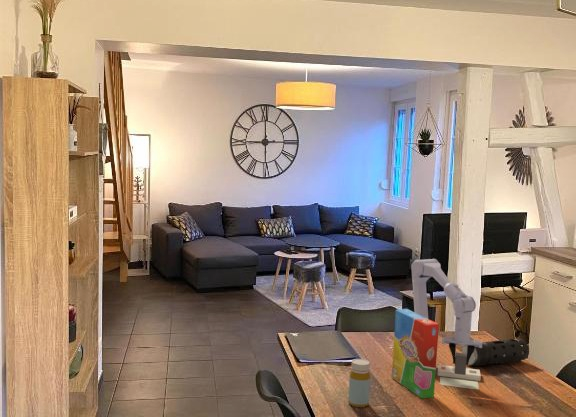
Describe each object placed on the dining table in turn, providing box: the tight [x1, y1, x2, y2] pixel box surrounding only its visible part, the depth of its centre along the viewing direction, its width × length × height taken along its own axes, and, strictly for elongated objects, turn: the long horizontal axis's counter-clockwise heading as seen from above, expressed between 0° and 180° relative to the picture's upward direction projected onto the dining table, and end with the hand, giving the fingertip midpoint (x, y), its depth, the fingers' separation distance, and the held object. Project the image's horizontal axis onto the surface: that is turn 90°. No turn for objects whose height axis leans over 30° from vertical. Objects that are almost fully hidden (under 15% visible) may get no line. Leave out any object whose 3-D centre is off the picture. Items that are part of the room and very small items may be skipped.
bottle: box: [347, 358, 371, 408], centre depth 208 cm, size 7×7×15 cm
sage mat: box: [439, 376, 480, 391], centre depth 230 cm, size 14×8×1 cm, turn 75°
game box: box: [391, 308, 440, 399], centre depth 225 cm, size 21×6×27 cm, turn 22°
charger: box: [454, 351, 467, 375], centre depth 230 cm, size 4×4×7 cm
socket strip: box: [437, 364, 482, 382], centre depth 239 cm, size 16×7×3 cm, turn 75°
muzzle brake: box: [461, 337, 530, 367], centre depth 254 cm, size 10×28×10 cm, turn 112°
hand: (460, 363), depth 229 cm, fingers closed on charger, 4 cm apart
